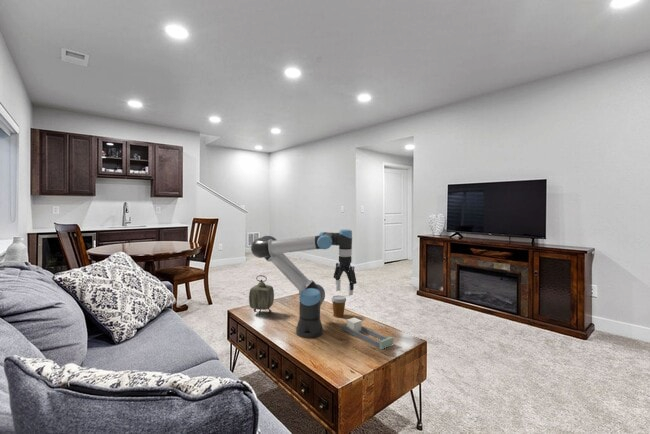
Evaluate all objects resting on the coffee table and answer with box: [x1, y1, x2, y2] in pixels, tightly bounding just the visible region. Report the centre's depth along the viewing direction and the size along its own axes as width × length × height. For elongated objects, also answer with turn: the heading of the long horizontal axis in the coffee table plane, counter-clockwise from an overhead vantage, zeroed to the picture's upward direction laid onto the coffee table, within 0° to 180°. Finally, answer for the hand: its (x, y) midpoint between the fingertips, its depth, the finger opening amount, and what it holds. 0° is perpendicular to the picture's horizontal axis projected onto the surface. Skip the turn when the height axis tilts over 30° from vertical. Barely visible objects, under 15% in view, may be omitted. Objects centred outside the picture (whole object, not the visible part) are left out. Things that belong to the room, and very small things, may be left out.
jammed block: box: [346, 317, 363, 333], centre depth 180 cm, size 6×6×6 cm
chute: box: [341, 324, 394, 350], centre depth 172 cm, size 9×30×4 cm, turn 38°
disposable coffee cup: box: [331, 295, 347, 318], centre depth 202 cm, size 10×10×12 cm
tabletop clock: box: [248, 275, 275, 315], centre depth 203 cm, size 14×9×25 cm, turn 82°
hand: (344, 292), depth 186 cm, fingers open, 10 cm apart
